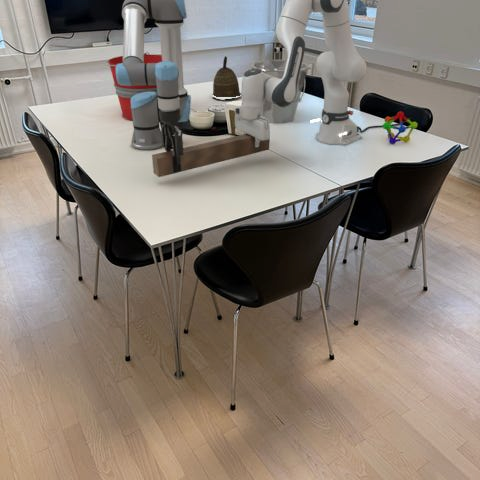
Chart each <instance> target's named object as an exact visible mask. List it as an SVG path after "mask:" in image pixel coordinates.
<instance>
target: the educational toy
mask: <svg viewBox="0 0 480 480" xmlns="http://www.w3.org/2000/svg"><path fill="white" fill-rule="evenodd" d="M397 119H399V123H400V125H399V127H398V126H390V125H391V124H393V123H394V122H395V121H396V120H397ZM408 119H409V118H408V117H406V116H405V113H404V112H403V111H401V110H400V111H398V112H397V114H396V115H394V116H391V117H390V116H386V117H385V118H384V122H383V123H382V125H383V127H382V129H383V130H386V132H387V138H388V142H389V145H395V144H396V143H397V142H402V141H403V142H404V143H409V142H410V140H411V138H410V136H411V134H412V132H413V131H414V130H415V129H417V127H418V122H417V121H412V120H411V119H410V120H408ZM403 120H404V121H407V122H406V123H408V124H409V125H407V126H404V123H402V122H403ZM392 129H393V130H397V131H398V132H396V134H395V133H394V132H392ZM408 129H409V131H408V133H407V134H406V135H404V136H401V134H403V133H405V132H406V130H408ZM399 135H400V136H399Z"/></svg>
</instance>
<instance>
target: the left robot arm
mask: <svg viewBox="0 0 480 480" xmlns="http://www.w3.org/2000/svg"><path fill="white" fill-rule="evenodd" d="M121 17H122V19H123V41H122V44H123V45H122V56H123V63H121V64H117V65H116V78H117V82H118V84H119V85H123V86H139V85H157V92H158V96H157V94H156V92H143V93H139V94H136V95H134V96H133V97H132V98H131V110H132V118H133V120H132V125H133V132H132V135H131V142H130V143H131V147H132V148H134V149H135V150H141V151H151V150H153V151H154V150H157V149H161V148H163V149H164V150H165V152H167V151H171V150H173V153H174V155H173V156H172V157H173V165H174V172H175V173H174V174H177V173H176V172H178V173H181V172H180V171H181V160H180V156H183V148H184V142H183V133H184V130H182V129H179V124H180V123H184V122H185V123H186V122H188V121H189V120H190V118H191V117H190V116H191V106H192V95H191V94H188V90H187V89H186V88H185V84H184V83H185V82H184V67H183V51H182V38H181V37H182V35H181V34H182V33H181V28H182V26H183V25H184V23H185V21H184V20H185V19H187V17H188V16H187V9H186V3H185V0H124V1H123V3H122V7H121ZM147 19H153V20H154V25H156V26H157V27H158V29H159V39H160V41H159V42H160V53H161V54H160V55H162V62H159V63H144V53H145V23H146V22H147ZM178 123H179V124H178Z"/></svg>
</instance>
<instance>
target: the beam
mask: <svg viewBox="0 0 480 480" xmlns="http://www.w3.org/2000/svg"><path fill="white" fill-rule="evenodd" d="M255 141H256V140H255V137H253V136H251V135H249V134H239V135H234V136H230V137H225V138H222V139H217V140H212V141H208V142H204V143H198V144H194V145H189V146H185V147H183V156H180V160H181V171H180V172H176V173H175V172H174V165H173V157H172V156H173V155H174V153H173V149H172V150H171V151H167V152H166V151H162V152H158V153H154V154H151V159H152V161H151V162H152V170H153V174H154V175H156V177H158V178H162V177H165V176H169V175H175V174H177V173H178V174H179V173H182V172H185V171H190V170H194V169H197V168H202V167H206V166H208V165H209V166H210V165H213V164H217V163H221V162H226V161H229V160H233V159H237V158H242V157H246V156H250V155H252V154H253V155H254V154H257V153H262V152H265V151H269V150H270V144H271V143H270V142H271V137H270V138H269V139H268V140H265V141H262V140H260V142H259V147H254V142H255Z"/></svg>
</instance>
